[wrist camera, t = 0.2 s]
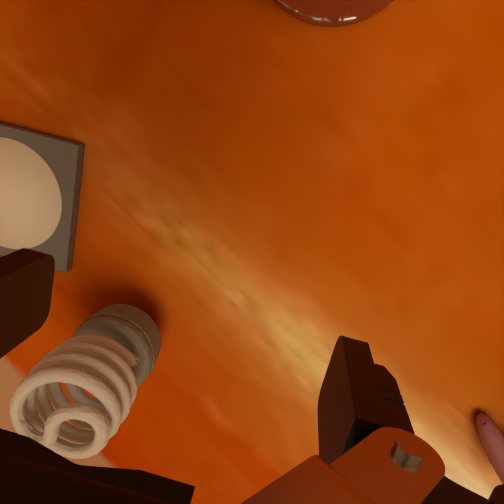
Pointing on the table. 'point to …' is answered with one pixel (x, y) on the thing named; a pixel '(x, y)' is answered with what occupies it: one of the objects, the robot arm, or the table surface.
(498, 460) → the video game controller
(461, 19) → the table surface
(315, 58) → the table surface
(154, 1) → the table surface
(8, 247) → the pad
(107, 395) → the light bulb
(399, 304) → the table surface
